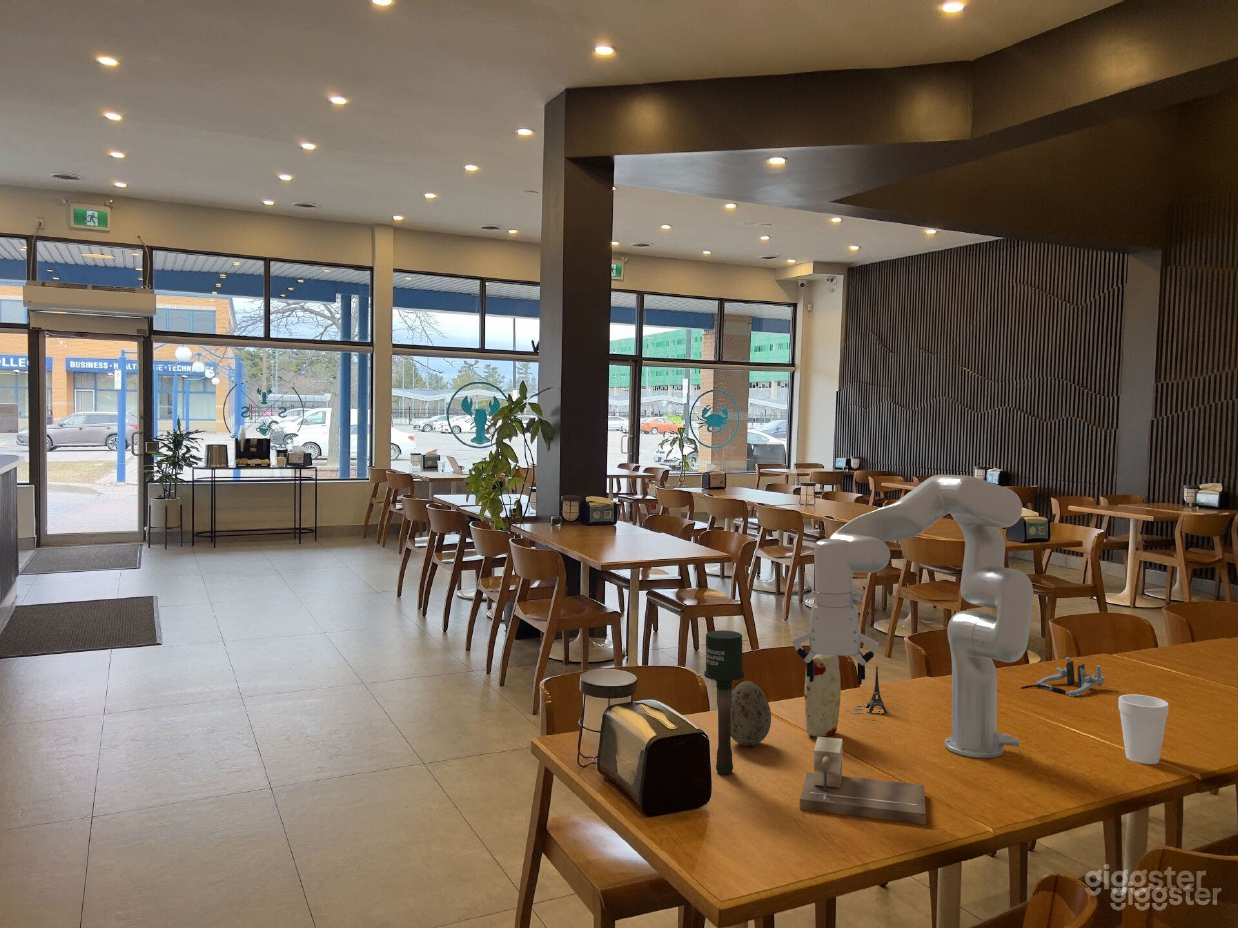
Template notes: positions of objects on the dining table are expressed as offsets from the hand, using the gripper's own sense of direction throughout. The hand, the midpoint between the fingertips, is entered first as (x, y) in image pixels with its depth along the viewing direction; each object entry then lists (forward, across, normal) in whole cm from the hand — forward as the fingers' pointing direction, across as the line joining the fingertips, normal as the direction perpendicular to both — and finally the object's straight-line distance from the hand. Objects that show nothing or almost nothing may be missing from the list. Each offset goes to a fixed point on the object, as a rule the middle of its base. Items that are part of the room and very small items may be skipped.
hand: (835, 681), depth 181 cm
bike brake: (+25, -57, -85) cm, 106 cm away
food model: (+22, +5, -29) cm, 37 cm away
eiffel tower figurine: (+23, -7, -52) cm, 57 cm away
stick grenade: (+21, +24, 0) cm, 32 cm away
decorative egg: (+22, +21, -18) cm, 35 cm away
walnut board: (+21, -5, +8) cm, 23 cm away
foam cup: (+24, -64, -32) cm, 75 cm away
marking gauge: (+21, +2, +6) cm, 22 cm away
